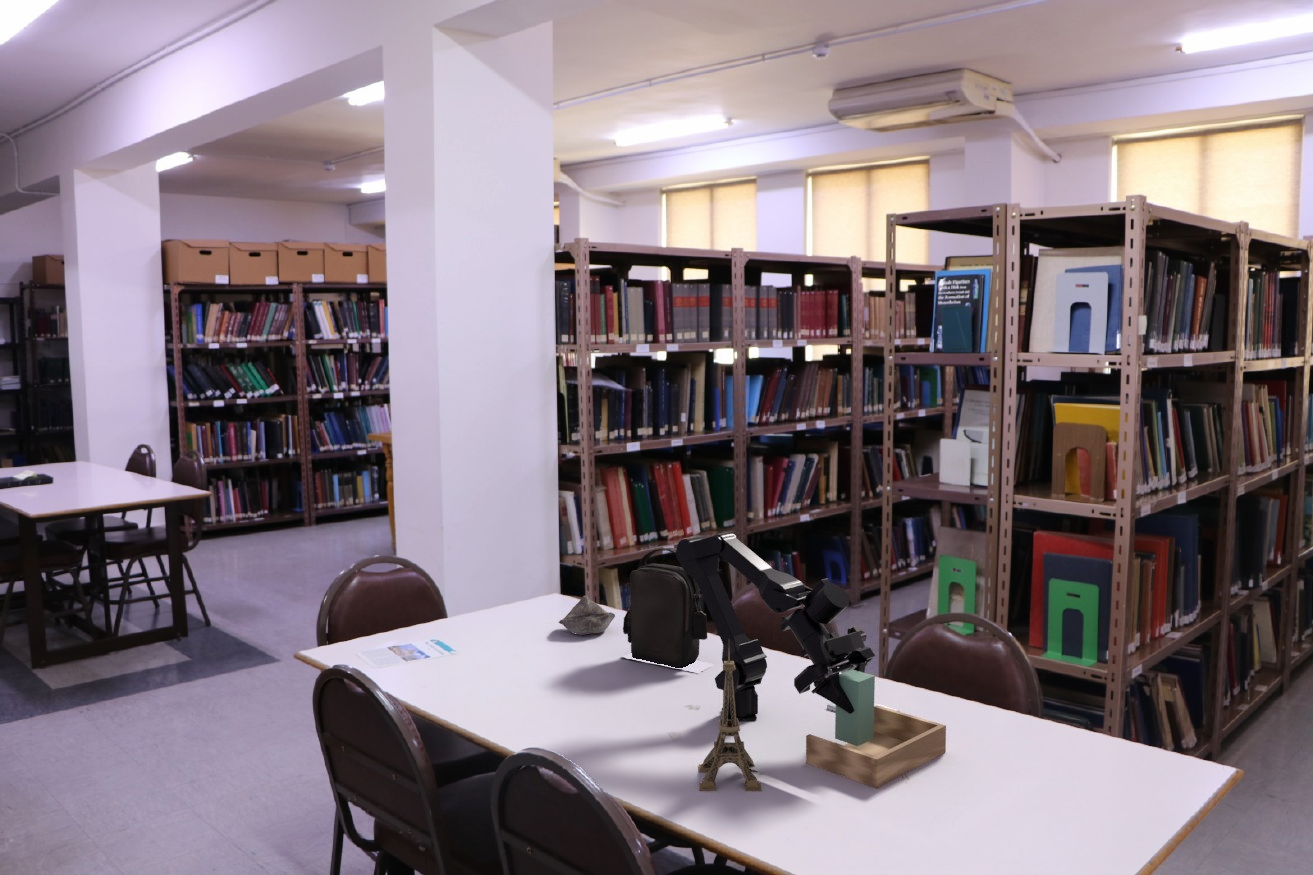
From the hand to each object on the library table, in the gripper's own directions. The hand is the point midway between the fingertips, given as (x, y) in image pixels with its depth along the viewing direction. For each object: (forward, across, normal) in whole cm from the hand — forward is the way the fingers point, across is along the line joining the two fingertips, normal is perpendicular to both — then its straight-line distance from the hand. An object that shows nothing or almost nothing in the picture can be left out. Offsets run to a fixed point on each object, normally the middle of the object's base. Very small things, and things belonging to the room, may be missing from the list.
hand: (861, 708), depth 183 cm
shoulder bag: (-40, +15, +54) cm, 69 cm away
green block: (+3, 0, +5) cm, 6 cm away
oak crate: (+9, 0, +4) cm, 10 cm away
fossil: (-64, +18, +79) cm, 103 cm away
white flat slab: (-2, +20, +17) cm, 26 cm away
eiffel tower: (-1, -24, +14) cm, 28 cm away
